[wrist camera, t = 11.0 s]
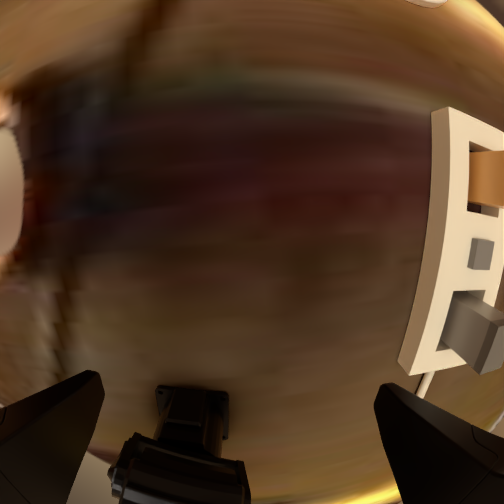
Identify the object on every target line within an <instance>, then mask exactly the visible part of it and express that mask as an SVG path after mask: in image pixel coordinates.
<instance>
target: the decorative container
mask: <svg viewBox="0 0 504 504" xmlns="http://www.w3.org/2000/svg"><path fill="white" fill-rule="evenodd" d="M406 1H408V2H410V3H413V4H416V5H419V6H422V7H429V8H435V7H440V6H441V5H442V4H444V3H445V2H446V1H447V0H406Z"/></svg>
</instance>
